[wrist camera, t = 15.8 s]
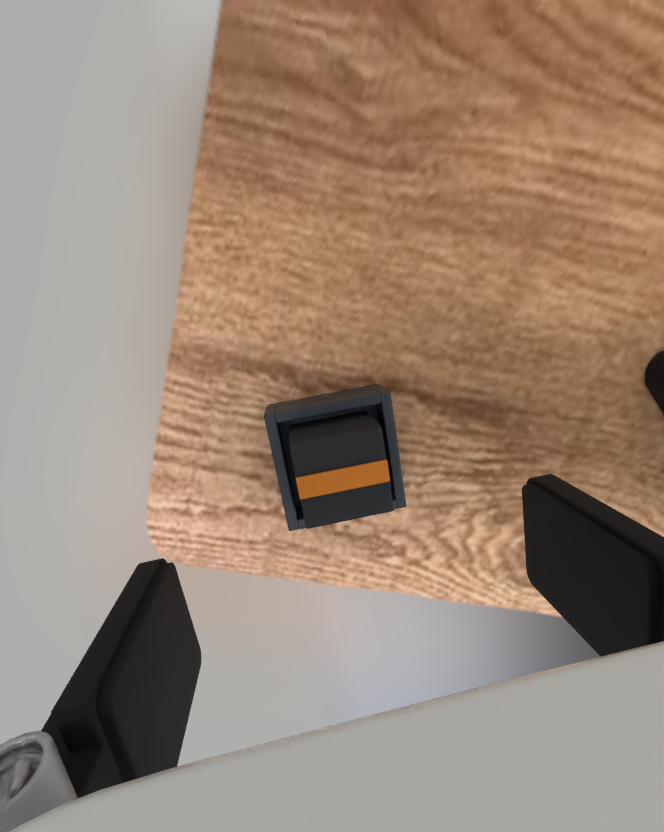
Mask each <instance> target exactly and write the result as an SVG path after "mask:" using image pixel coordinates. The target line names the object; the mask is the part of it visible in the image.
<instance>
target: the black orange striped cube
mask: <svg viewBox="0 0 664 832" xmlns="http://www.w3.org/2000/svg"><path fill="white" fill-rule="evenodd" d="M289 447H290V452H291V457H292V462H293V467H294V471H295V476H296V482H297V487H298V492H299V497H300V500H301V505H302V510H303V515H304V520H305V524H306V528H308V529H309V528H313V527H318V526H323V525H328V524H332V523H337V522H342V521H347V520H352V519H356V518H361V517H366V516H371V515H376V514H380V513H385V512H390V511H393V510H394V507H393V501H392V494H391V487H390V476H389V469H388V462H387V459H386V454H385V447H384V441H383V434H382V428H381V426H380V425H379V424H378V423H377V422H376V421H375V419H374V418H373V417H372V416H371V415H370V414H369V413H368V412H367V411H366V410H365V411H360V412H354V413H349V414H344V415H339V416H334V417H328V418H323V419H318V420H313V421H308V422H303V423H297V424H292V425H290V426H289Z"/></svg>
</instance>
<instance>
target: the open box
mask: <svg viewBox="0 0 664 832" xmlns="http://www.w3.org/2000/svg"><path fill="white" fill-rule="evenodd" d="M365 410H366V411H367V412H368V413H369V414H370V415H371V416H372V417H373V418H374V419H375V421H376V422H377V423H378V424H379V425H380V426H381V428H382V434H383V441H384V447H385V454H386V459H387V462H388V469H389V476H390V487H391V494H392V501H393V507H394V509H397V508H403V507H406V499H405V492H404V485H403V478H402V471H401V464H400V457H399V450H398V443H397V436H396V429H395V421H394V414H393V407H392V400H391V393H390V391H389V390H387V389H386V388H384V387H382V386H381V385H379V384H377V385H371V386H366V387H361V388H356V389H350V390H345V391H340V392H334V393H329V394H324V395H319V396H313V397H308V398H303V399H297V400H292V401H287V402H282V403H276V404H271V405H268V406H267V408H266V411H265V414H264V418H265V423H266V428H267V432H268V437H269V441H270V446H271V450H272V455H273V460H274V464H275V469H276V473H277V478H278V482H279V487H280V492H281V496H282V501H283V505H284V510H285V514H286V519H287V524H288V528H289V531H292V530H297V529H302V528H306V524H305V520H304V515H303V510H302V505H301V500H300V497H299V492H298V487H297V482H296V476H295V471H294V467H293V462H292V457H291V452H290V447H289V426H290V425H292V424H297V423H303V422H308V421H313V420H318V419H323V418H328V417H334V416H339V415H344V414H349V413H354V412H360V411H365Z"/></svg>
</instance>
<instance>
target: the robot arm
mask: <svg viewBox="0 0 664 832" xmlns="http://www.w3.org/2000/svg"><path fill="white" fill-rule="evenodd" d="M522 499H523V516H524V533H525V551H526V568H527V575H528V578H529V580H530V582H531V583H532V585H533V586H534V587H535V588H536V589H537V590H538V591H539V592H540V593H541V594H542V595H543V597H544V598H545V599H546V600H547V601H548V602H549V603H550V604H551V605H552V606H553V607H554V608H555V609H556V610H557V611H558V612H559V613H560V614H561V615H562V617H563V618H564V619H565V620H566V621H567V622H568V623H569V624H570V625H571V626H572V627H573V628H574V629H575V630H576V631H577V632H578V633H579V634H580V635H581V636H582V637H583V639H584V640H585V641H586V642H587V643H588V644H589V645H590V646H591V647H592V648H593V649H594V650H595V651H596V652H597V653H598V654H599V655H600V656H601V657H598V658H594V659H590V660H586V661H582V662H578V663H574V664H570V665H566V666H562V667H558V668H554V669H550V670H546V671H542V672H538V673H534V674H530V675H526V676H522V677H518V678H514V679H510V680H506V681H502V682H498V683H495V684H491V685H487V686H483V687H479V688H475V689H471V690H467V691H464V692H459V693H455V694H451V695H448V696H444V697H440V698H436V699H432V700H428V701H424V702H421V703H417V704H413V705H409V706H405V707H401V708H397V709H393V710H389V711H386V712H382V713H378V714H374V715H370V716H366V717H363V718H359V719H355V720H352V721H348V722H343V723H340V724H336V725H332V726H328V727H325V728H321V729H317V730H313V731H309V732H306V733H302V734H298V735H295V736H291V737H287V738H283V739H279V740H276V741H272V742H268V743H264V744H260V745H257V746H253V747H250V748H245V749H242V750H238V751H234V752H231V753H226V754H223V755H219V756H215V757H212V758H208V759H204V760H200V761H196V762H193V763H189V764H185V765H181V766H178V767H177V764H178V760H179V756H180V751H181V747H182V743H183V738H184V734H185V730H186V726H187V722H188V717H189V713H190V709H191V704H192V700H193V696H194V692H195V687H196V683H197V679H198V674H199V670H200V666H201V650H200V646H199V643H198V640H197V636H196V633H195V630H194V627H193V623H192V620H191V617H190V613H189V610H188V607H187V604H186V600H185V597H184V594H183V591H182V587H181V585H180V581H179V578H178V574H177V571H176V568H175V565H174V564H173V563H172V562H171V563H167V562H166V560H165V559H158V560H153V561H148V562H144V563H140V564H139V565H138V566H137V567H136V569H135V571H134V573H133V574H132V576H131V577H130V579H129V581H128V582H127V584H126V586H125V588H124V589H123V591H122V593H121V594H120V596H119V598H118V600H117V601H116V603H115V605H114V606H113V608H112V610H111V611H110V613H109V615H108V617H107V618H106V620H105V622H104V623H103V625H102V627H101V628H100V630H99V632H98V633H97V635H96V637H95V638H94V640H93V642H92V644H91V645H90V647H89V649H88V650H87V652H86V654H85V655H84V657H83V659H82V661H81V662H80V664H79V666H78V668H77V669H76V671H75V672H74V674H73V676H72V677H71V679H70V681H69V683H68V684H67V686H66V688H65V689H64V691H63V693H62V694H61V696H60V698H59V700H58V701H57V703H56V705H55V706H54V708H53V710H52V711H51V715H50V717H49V719H48V720H47V722H46V724H45V725H44V727H43V729H42V730H41V731H35V732H29V733H25V734H22V735H20V736H17V737H15V738H12V739H10V740H8V741H7V742H5V743H3V744H2V745H0V832H664V537H662V536H661V535H659V534H657V533H655V532H653V531H652V530H650V529H648V528H646V527H645V526H643V525H641V524H639V523H638V522H636V521H634V520H632V519H630V518H629V517H627V516H625V515H623V514H622V513H620V512H618V511H616V510H615V509H613V508H611V507H609V506H607V505H606V504H604V503H602V502H600V501H599V500H597V499H595V498H593V497H592V496H590V495H588V494H586V493H584V492H583V491H581V490H579V489H577V488H576V487H574V486H572V485H570V484H569V483H567V482H565V481H563V480H562V479H560V478H558V477H556V476H554V475H552V474H548V475H543V476H539V477H534V478H530V479H529V480H528V481H527V485H524V486H523V488H522Z"/></svg>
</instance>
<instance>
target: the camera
mask: <svg viewBox="0 0 664 832" xmlns="http://www.w3.org/2000/svg"><path fill="white" fill-rule="evenodd" d="M646 385H647V387H648V389H649V390H650V392H651V393H652V395H653V396H654V398H655V399H656V401H657V403H658V404H659V406H660V407H661V409H662V410H663V412H664V351H663V352H660V353H658V354H657V355H656V357H655V358H654V359H653V360H652V361H651V362H650V364H649V367H648V369H647V371H646Z"/></svg>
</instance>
